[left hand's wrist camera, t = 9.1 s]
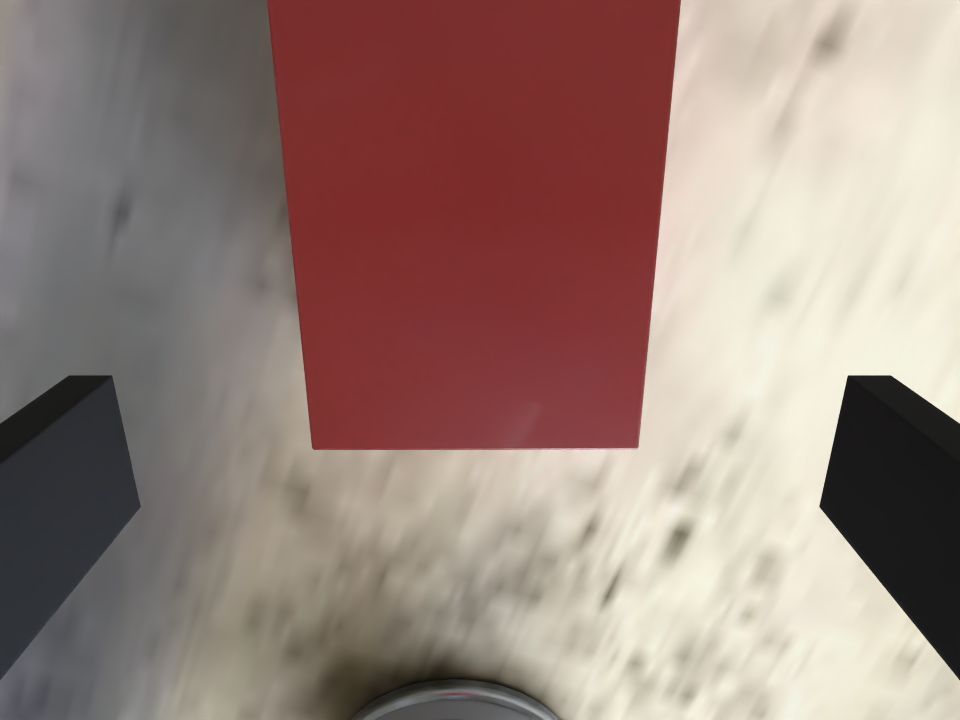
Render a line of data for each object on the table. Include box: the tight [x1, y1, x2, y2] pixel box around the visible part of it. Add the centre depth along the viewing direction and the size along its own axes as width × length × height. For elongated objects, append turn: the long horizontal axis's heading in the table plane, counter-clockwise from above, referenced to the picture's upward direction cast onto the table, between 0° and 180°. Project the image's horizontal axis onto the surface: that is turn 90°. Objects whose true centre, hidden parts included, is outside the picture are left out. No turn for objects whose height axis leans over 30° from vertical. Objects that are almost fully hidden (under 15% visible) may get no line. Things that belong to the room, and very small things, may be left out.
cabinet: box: [267, 0, 681, 450], centre depth 24 cm, size 18×11×10 cm, turn 0°
